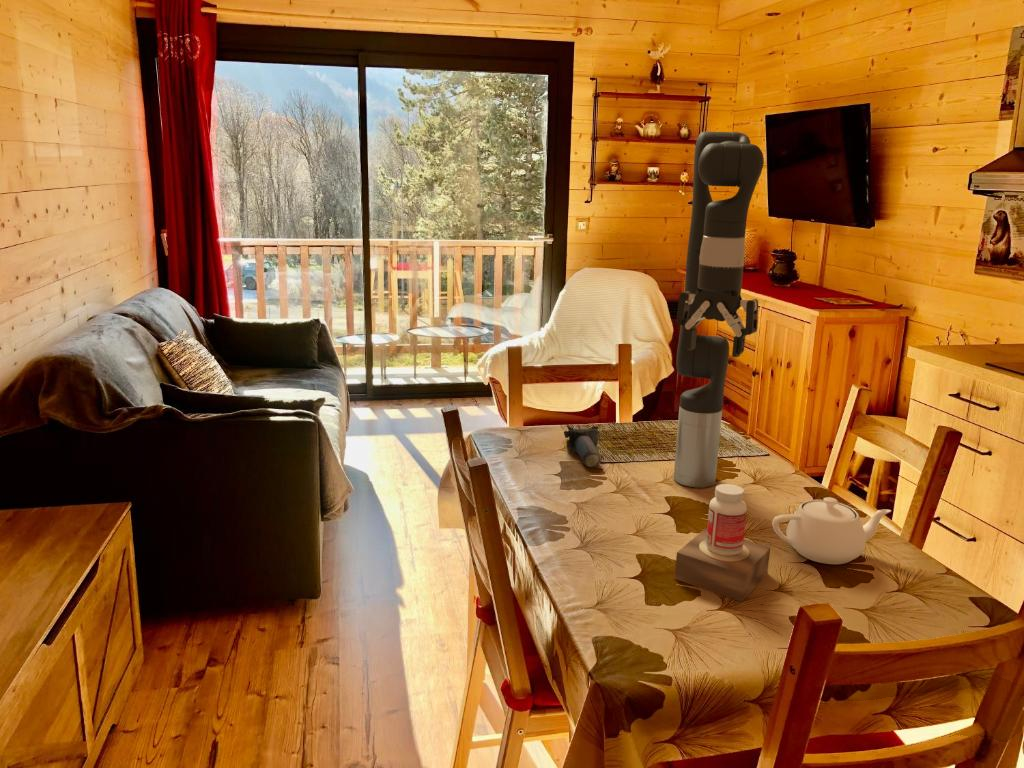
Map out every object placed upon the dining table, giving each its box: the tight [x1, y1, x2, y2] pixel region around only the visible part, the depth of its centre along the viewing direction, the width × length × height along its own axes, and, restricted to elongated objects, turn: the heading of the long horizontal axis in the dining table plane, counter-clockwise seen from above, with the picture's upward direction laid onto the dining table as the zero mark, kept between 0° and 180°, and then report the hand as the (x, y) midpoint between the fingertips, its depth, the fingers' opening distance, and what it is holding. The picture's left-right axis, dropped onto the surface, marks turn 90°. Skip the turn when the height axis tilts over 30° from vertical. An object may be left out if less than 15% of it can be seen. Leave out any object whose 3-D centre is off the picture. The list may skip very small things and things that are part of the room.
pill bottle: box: [706, 483, 748, 556], centre depth 137 cm, size 6×6×11 cm
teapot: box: [771, 496, 892, 565], centre depth 148 cm, size 22×14×11 cm, turn 94°
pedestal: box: [674, 527, 771, 602], centre depth 139 cm, size 12×12×5 cm
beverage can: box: [563, 426, 602, 468], centre depth 193 cm, size 9×8×12 cm
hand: (713, 352), depth 145 cm, fingers open, 8 cm apart
